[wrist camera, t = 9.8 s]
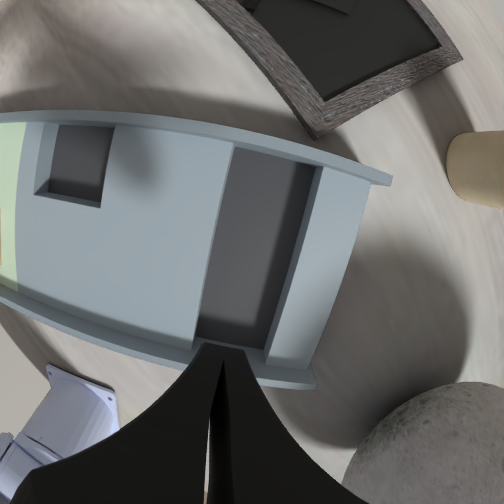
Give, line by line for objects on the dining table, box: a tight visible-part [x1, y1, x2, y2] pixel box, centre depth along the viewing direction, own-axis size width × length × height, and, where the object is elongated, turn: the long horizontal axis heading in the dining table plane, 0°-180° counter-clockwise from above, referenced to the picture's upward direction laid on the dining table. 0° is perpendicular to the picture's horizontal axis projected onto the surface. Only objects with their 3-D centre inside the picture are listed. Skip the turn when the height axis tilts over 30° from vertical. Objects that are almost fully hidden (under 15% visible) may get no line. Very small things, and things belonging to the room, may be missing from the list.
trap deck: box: [0, 110, 393, 391], centre depth 15 cm, size 14×31×4 cm, turn 77°
